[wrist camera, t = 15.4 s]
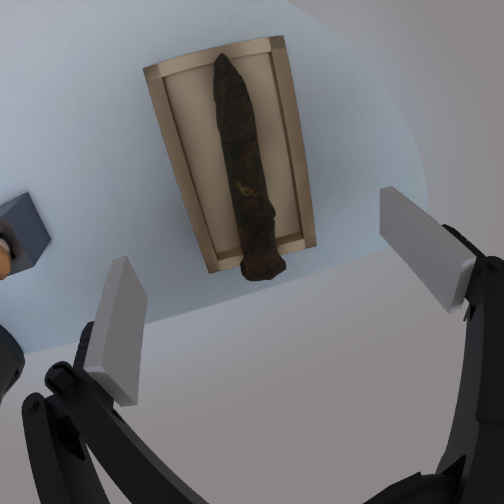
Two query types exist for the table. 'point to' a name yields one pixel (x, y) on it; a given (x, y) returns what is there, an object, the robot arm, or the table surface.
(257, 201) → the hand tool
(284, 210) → the tray
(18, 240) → the socket block
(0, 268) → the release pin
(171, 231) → the table surface
